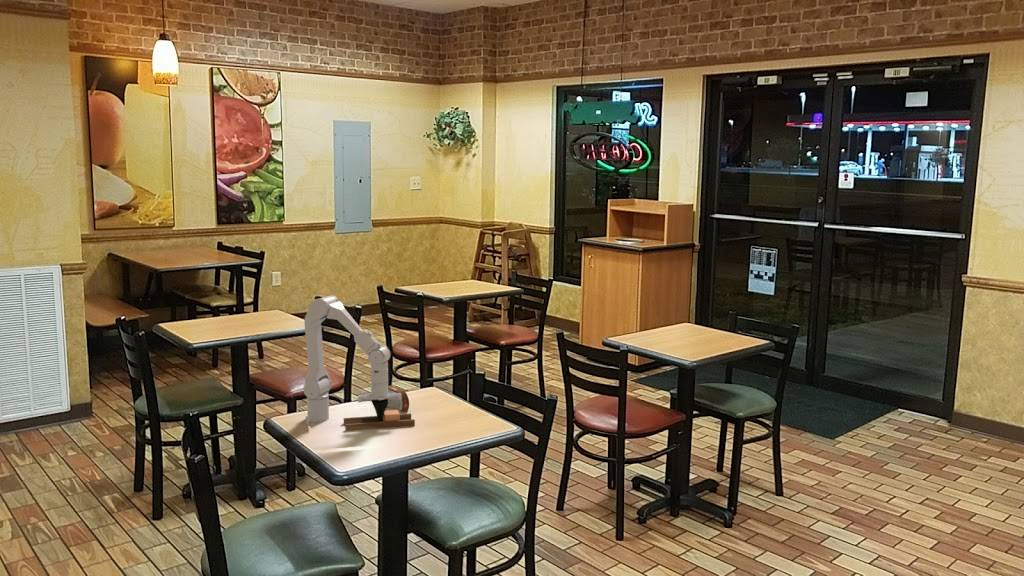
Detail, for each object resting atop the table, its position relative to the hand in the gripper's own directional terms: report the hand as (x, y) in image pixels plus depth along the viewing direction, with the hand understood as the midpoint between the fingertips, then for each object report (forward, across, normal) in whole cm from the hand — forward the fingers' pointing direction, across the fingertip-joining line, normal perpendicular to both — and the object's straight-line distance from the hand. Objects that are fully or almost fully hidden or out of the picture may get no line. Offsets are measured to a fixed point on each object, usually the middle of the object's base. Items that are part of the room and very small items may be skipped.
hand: (379, 421), depth 277 cm
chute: (+2, 0, 0) cm, 2 cm away
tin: (+2, +8, +20) cm, 21 cm away
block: (+1, +4, 0) cm, 4 cm away
